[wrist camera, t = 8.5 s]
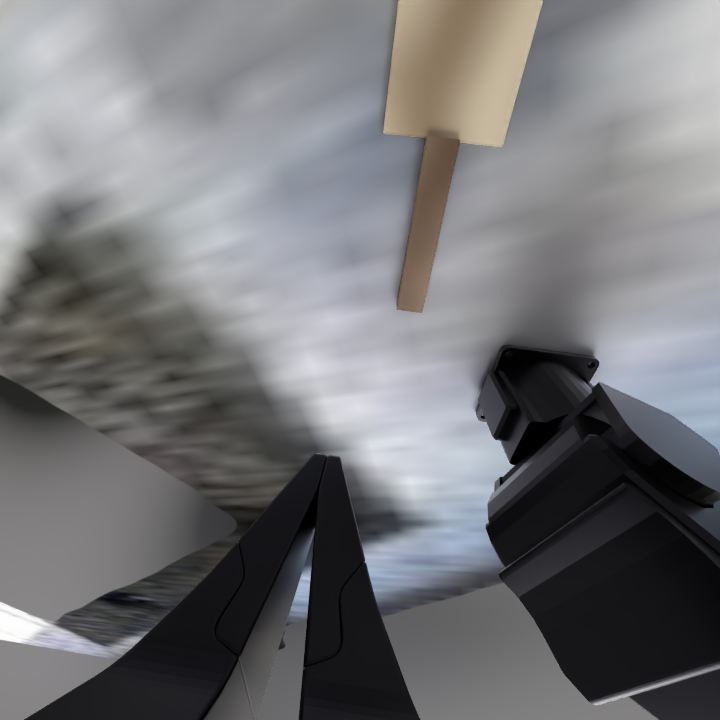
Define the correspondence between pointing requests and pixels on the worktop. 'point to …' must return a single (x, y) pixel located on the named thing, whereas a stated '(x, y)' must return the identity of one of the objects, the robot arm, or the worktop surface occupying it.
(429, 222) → the wooden turner
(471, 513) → the worktop surface
